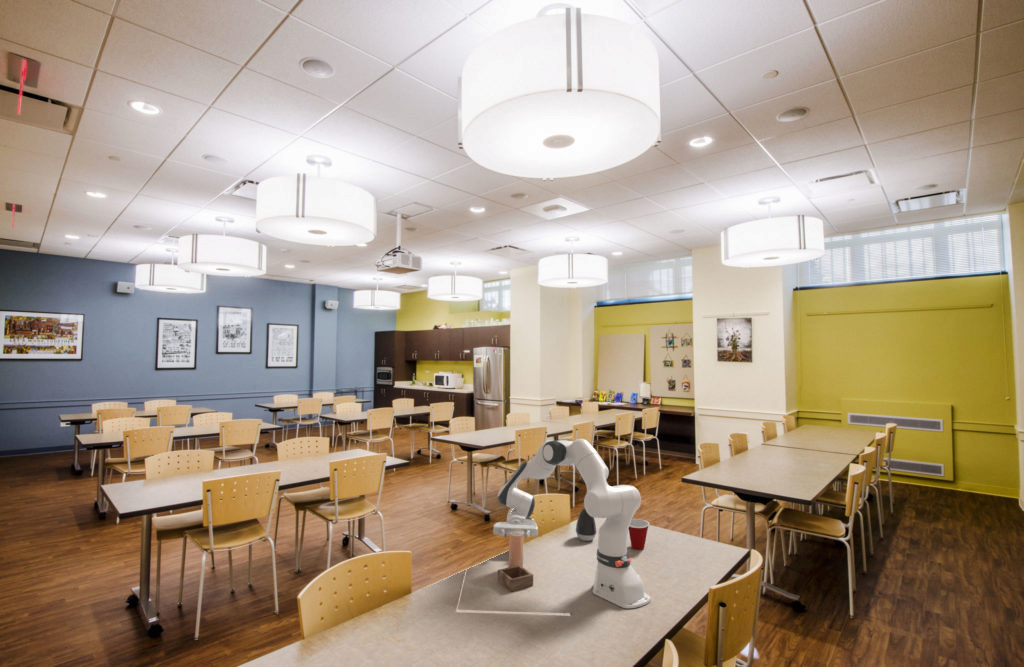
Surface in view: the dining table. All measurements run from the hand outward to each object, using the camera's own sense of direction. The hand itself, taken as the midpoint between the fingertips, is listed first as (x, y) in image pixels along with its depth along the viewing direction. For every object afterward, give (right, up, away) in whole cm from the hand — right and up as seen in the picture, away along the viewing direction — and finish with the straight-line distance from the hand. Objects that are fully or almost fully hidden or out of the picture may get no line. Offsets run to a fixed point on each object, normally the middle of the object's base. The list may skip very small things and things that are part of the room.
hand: (515, 535), depth 209 cm
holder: (0, -9, -24) cm, 26 cm away
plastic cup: (+59, -14, +18) cm, 63 cm away
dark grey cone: (+35, -13, +27) cm, 46 cm away
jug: (0, -10, -12) cm, 16 cm away
